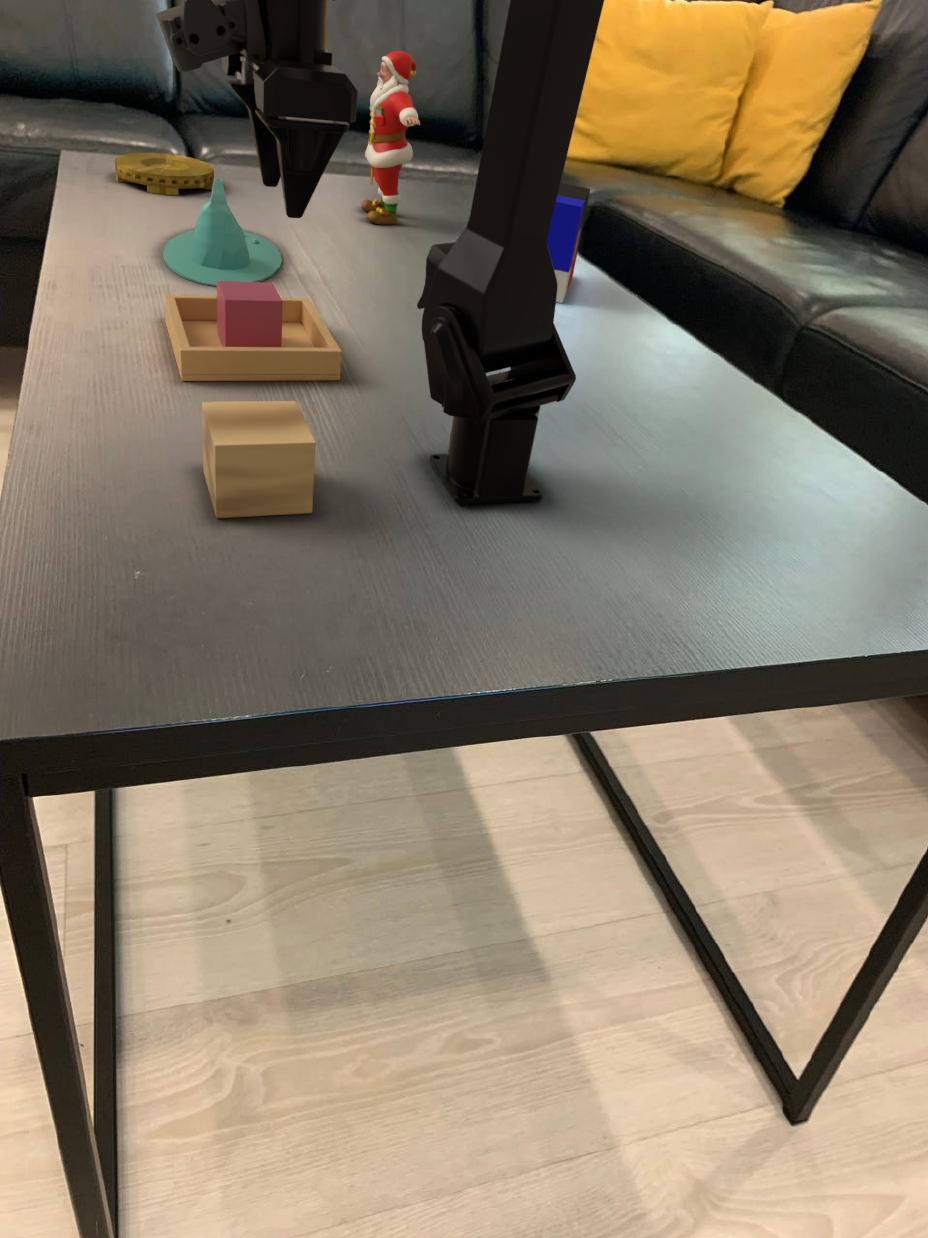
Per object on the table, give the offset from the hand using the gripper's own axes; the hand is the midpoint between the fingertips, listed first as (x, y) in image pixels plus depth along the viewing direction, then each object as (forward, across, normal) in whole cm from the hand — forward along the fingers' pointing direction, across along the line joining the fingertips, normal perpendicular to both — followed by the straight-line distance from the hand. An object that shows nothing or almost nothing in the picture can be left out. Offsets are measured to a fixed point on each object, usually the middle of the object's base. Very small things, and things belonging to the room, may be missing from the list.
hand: (281, 200), depth 72 cm
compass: (+12, -57, -3) cm, 59 cm away
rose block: (+12, -1, -2) cm, 12 cm away
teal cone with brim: (+12, -27, 0) cm, 30 cm away
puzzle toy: (+12, -22, +32) cm, 41 cm away
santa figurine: (+12, -46, +23) cm, 53 cm away
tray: (+12, -1, -2) cm, 13 cm away
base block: (+12, +23, -6) cm, 27 cm away
